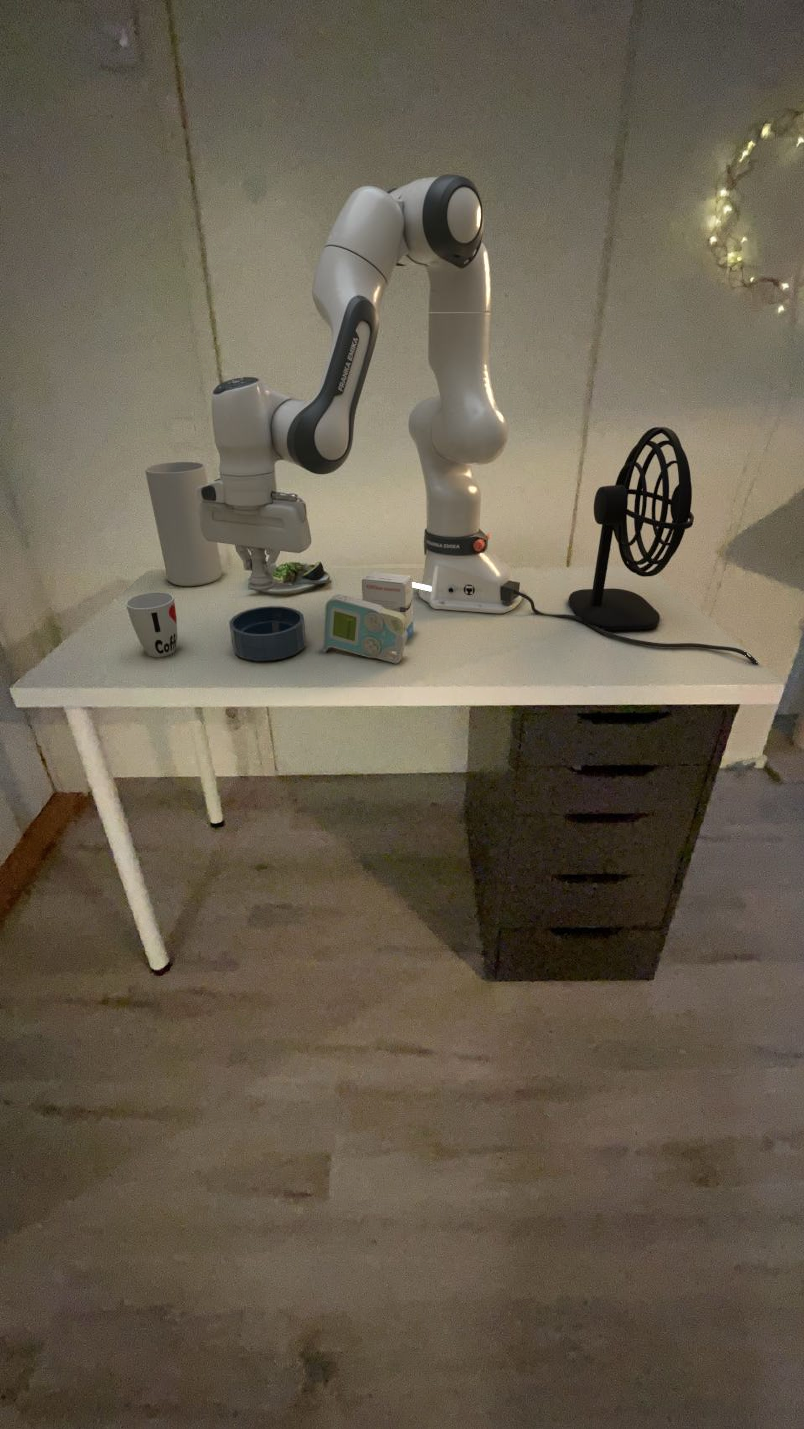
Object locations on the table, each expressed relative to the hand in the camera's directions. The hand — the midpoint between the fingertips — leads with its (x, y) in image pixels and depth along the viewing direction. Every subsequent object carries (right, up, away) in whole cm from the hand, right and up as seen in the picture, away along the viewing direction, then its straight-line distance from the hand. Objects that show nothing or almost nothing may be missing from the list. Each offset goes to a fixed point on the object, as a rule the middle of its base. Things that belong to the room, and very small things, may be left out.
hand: (260, 571), depth 114 cm
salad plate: (-1, +5, +37) cm, 37 cm away
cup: (-20, -14, +7) cm, 25 cm away
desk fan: (+69, -5, +20) cm, 72 cm away
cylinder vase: (-24, +7, +41) cm, 48 cm away
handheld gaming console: (+18, -15, +4) cm, 24 cm away
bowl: (0, -13, +8) cm, 15 cm away
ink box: (+22, -10, +12) cm, 27 cm away
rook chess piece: (0, -3, +2) cm, 3 cm away
